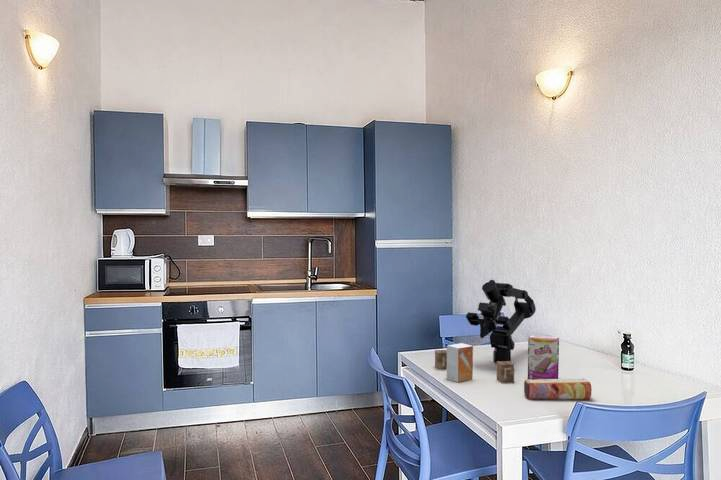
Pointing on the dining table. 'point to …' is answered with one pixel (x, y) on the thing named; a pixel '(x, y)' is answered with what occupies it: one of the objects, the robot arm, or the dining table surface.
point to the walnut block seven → (505, 372)
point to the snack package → (558, 389)
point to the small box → (459, 362)
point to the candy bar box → (543, 357)
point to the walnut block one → (441, 359)
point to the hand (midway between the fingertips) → (481, 337)
